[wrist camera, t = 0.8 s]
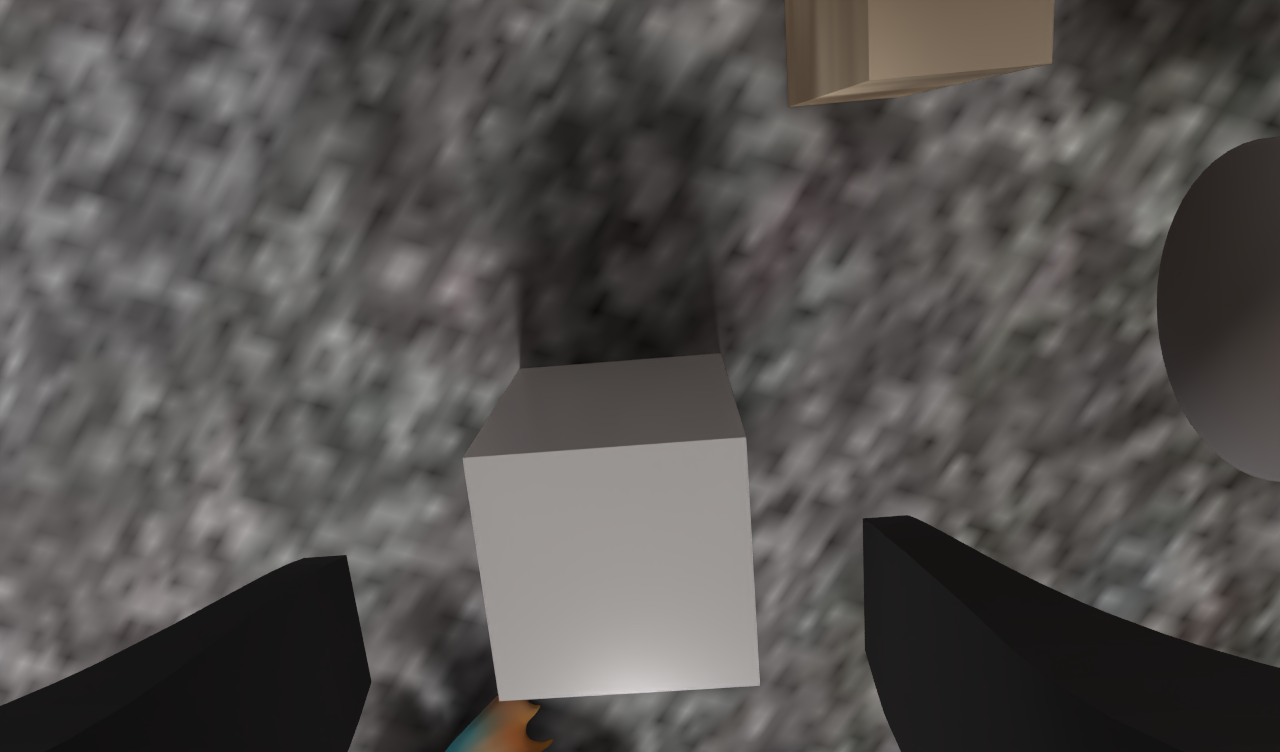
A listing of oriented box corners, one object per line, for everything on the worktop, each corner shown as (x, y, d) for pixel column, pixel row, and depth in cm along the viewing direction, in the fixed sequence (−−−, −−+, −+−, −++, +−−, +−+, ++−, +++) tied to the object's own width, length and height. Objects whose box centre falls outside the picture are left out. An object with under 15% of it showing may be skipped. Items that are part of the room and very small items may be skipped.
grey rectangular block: (720, 352, 16) (746, 437, 12) (732, 537, 17) (759, 685, 13) (520, 367, 17) (462, 458, 12) (543, 549, 18) (499, 701, 13)
